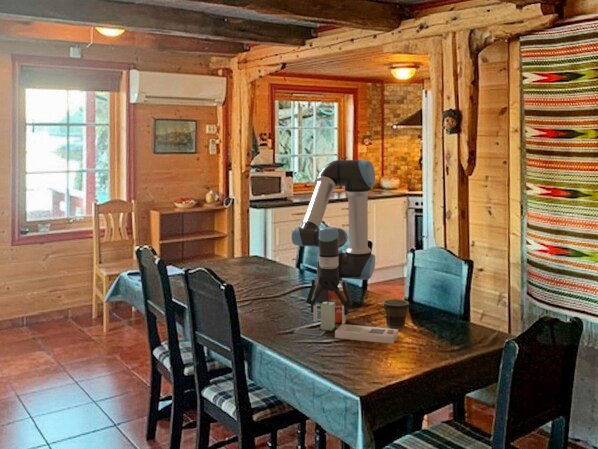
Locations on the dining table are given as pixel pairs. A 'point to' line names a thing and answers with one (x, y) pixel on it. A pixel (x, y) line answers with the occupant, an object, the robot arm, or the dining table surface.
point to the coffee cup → (337, 304)
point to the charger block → (327, 315)
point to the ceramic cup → (395, 313)
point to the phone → (309, 331)
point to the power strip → (366, 333)
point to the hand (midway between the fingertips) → (329, 321)
